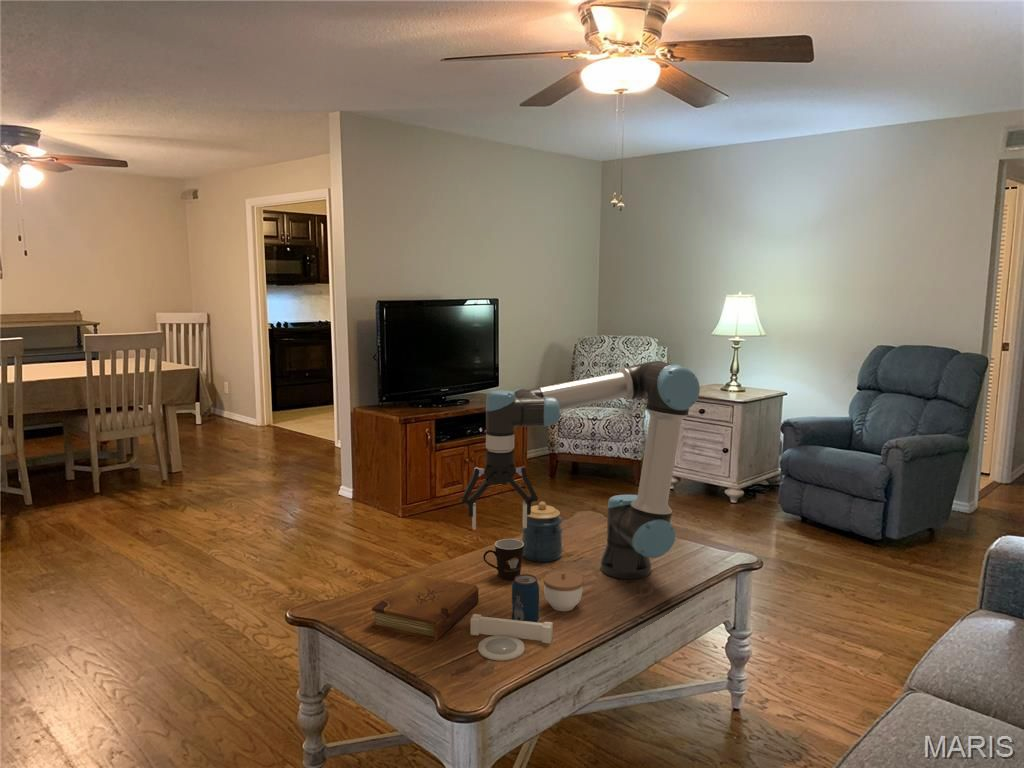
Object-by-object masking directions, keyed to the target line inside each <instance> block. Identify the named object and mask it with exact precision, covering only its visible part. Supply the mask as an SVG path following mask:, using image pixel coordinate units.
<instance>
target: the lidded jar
mask: <svg viewBox="0 0 1024 768" xmlns="http://www.w3.org/2000/svg"><path fill="white" fill-rule="evenodd" d="M583 590H584V578H583V577H582V576H581V575H580V574H578V573H575V572H572V571H566V570H565V571H563V570H561V571H559V570H558V571H551V572H548V573H547V574H545V575H544V577H543V593H544V596H545V599H546V602H547V603H548V604H549V605H550V606H551V608H553V610H555V611H559V612H569V611H572V610H573V609H574V608H575V607H576V606H577V605H578V604H579V602H580V601H581V600H582V595H583Z"/></svg>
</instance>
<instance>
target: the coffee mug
mask: <svg viewBox="0 0 1024 768" xmlns="http://www.w3.org/2000/svg"><path fill="white" fill-rule="evenodd" d="M494 547H495V550H492V549H489V550H487V551H485V552H484V554H483V557H482V558H483V561H484V562H485V563H486V564H487V565H488V566H491V567H492V568H494V569H496V570H497V576H498V578H499V579H500V580H501V581H514V578H515V577H516V576H518V575H521V572H522V571H521V570H522V562H523V548H524V543H523V542H522V540H519V539H516V538H504V539H500V540H496V541H495V542H494ZM489 553H492V554H494V556H495V557H496V565H494V564H492V563H490V562H488V561H487V559H486V556H487V554H489Z"/></svg>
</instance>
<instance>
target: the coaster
mask: <svg viewBox="0 0 1024 768" xmlns="http://www.w3.org/2000/svg"><path fill="white" fill-rule="evenodd" d="M477 649H478V653H479V655H480V656H482V657H484V658H485V659H488V660H492V661H498V662H499V661H500V662H501V661H502V662H503V661H504V662H505V661H511V660H514V659H517V658H519V657H521V656H522V655H523V653H524V652H525V644H524V642H523V641H522V640H521V639H520V638H515V637H512V636H507V635H496V636H494V635H490V636H488V637H485V638H483V639H482V640H481V641H479V643H478V646H477Z"/></svg>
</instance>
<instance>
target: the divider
mask: <svg viewBox="0 0 1024 768" xmlns="http://www.w3.org/2000/svg"><path fill="white" fill-rule="evenodd" d="M553 624H554V623H553V622H551V621H543V622H528V621H519V620H512V619H508V618H507V619H506V618H500V617H499V618H498V617H490V616H489V617H488V616H482V614H478V613H477V614H476V613H473V615H472V616H471V618H470V636H479V635H484V636H485V635H486V636H487V635H488V636H496V635H507V636H512V637H515V638H518V639H520V640H521V639H522V640H523V639H524V640H531V641H540V642H542V643H543V644H548V645H549V644H551V643H552V640H553Z"/></svg>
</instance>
